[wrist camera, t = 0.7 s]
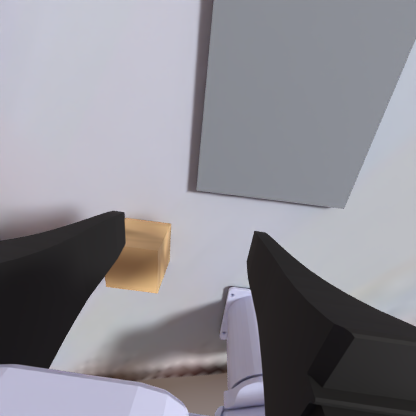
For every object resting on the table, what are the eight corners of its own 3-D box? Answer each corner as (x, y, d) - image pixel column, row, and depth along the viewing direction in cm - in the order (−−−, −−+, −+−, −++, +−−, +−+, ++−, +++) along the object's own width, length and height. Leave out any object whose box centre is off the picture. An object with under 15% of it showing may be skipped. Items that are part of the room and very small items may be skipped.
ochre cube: (169, 260, 24) (157, 293, 19) (128, 254, 24) (106, 286, 19) (171, 223, 22) (158, 250, 17) (125, 217, 22) (100, 243, 17)
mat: (338, 204, 20) (343, 208, 19) (197, 187, 20) (196, 190, 19) (465, -109, 12) (485, -128, 11) (227, -135, 12) (227, -156, 11)
